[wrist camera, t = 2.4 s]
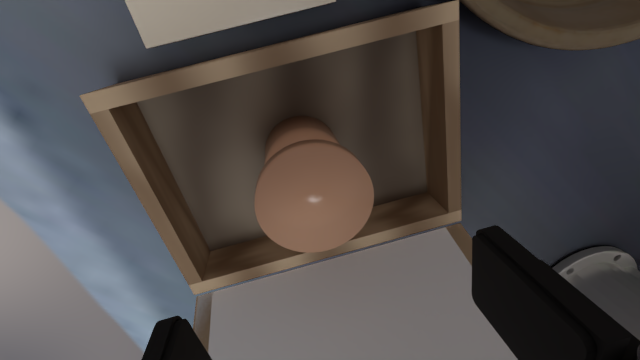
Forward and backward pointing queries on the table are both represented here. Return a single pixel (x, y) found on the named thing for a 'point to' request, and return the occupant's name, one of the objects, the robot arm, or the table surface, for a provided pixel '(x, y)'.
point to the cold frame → (272, 108)
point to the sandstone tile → (205, 16)
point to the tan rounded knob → (311, 188)
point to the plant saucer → (562, 21)
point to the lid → (358, 308)
